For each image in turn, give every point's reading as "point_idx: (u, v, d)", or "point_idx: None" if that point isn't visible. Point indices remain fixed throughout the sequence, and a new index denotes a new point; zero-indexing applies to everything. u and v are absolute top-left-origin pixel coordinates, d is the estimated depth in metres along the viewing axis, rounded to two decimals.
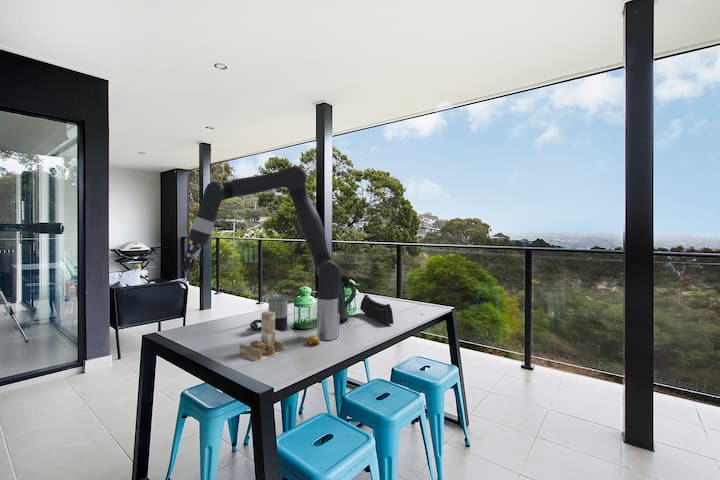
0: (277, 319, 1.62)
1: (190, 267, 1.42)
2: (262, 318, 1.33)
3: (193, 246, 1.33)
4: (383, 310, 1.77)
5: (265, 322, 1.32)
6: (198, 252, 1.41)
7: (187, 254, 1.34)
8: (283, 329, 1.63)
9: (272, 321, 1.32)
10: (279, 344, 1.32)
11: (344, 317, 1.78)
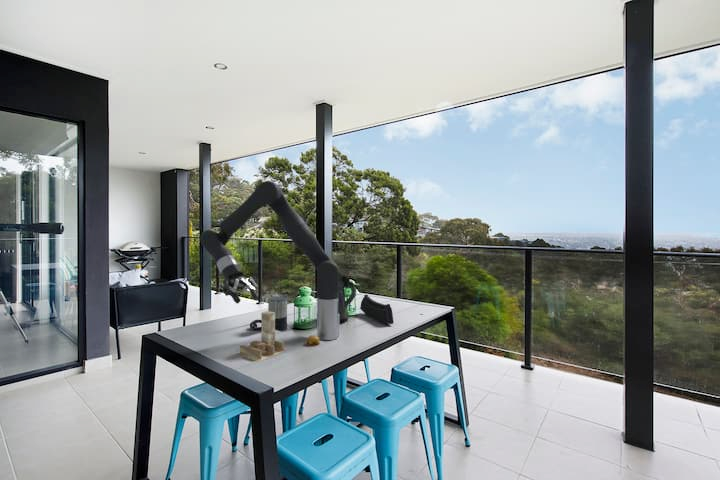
0: (276, 319, 1.62)
1: (255, 296, 1.43)
2: (262, 318, 1.33)
3: (222, 282, 1.37)
4: (383, 310, 1.77)
5: (265, 322, 1.32)
6: (244, 282, 1.43)
7: (230, 291, 1.39)
8: (283, 329, 1.63)
9: (272, 321, 1.32)
10: (279, 344, 1.32)
11: (344, 317, 1.78)
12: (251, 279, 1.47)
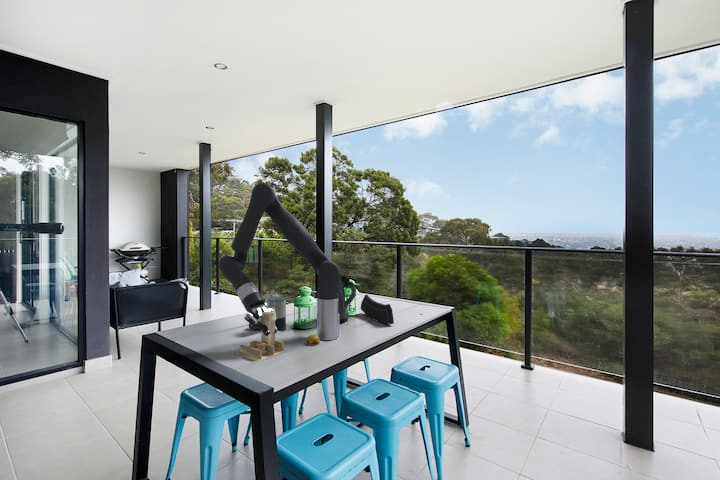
0: None
1: None
2: None
3: (246, 316, 1.30)
4: (383, 310, 1.77)
5: (265, 322, 1.32)
6: (264, 311, 1.35)
7: None
8: (281, 329, 1.63)
9: (272, 321, 1.32)
10: (279, 344, 1.32)
11: (344, 317, 1.78)
12: (273, 310, 1.39)
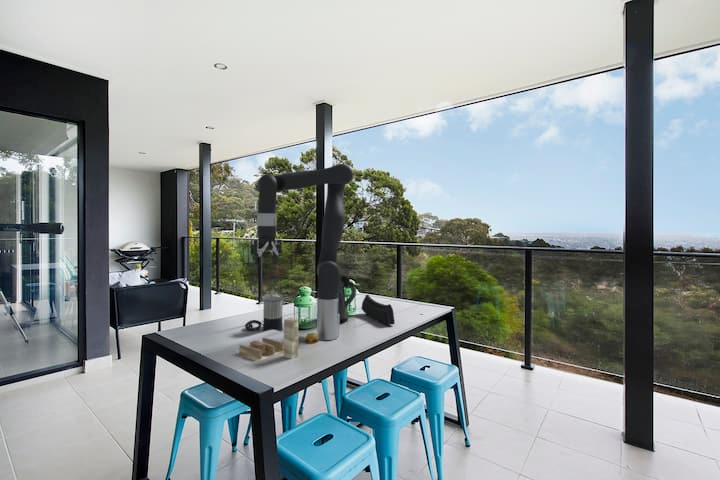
0: (271, 320, 1.61)
1: (274, 262, 1.46)
2: (284, 325, 1.26)
3: (254, 241, 1.37)
4: (384, 310, 1.76)
5: (288, 329, 1.25)
6: (272, 246, 1.44)
7: (256, 250, 1.40)
8: (278, 330, 1.62)
9: (296, 328, 1.26)
10: (279, 344, 1.32)
11: (344, 317, 1.78)
12: (280, 243, 1.47)
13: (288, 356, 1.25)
